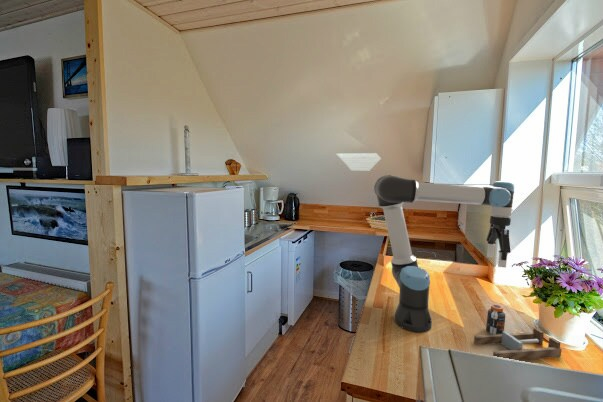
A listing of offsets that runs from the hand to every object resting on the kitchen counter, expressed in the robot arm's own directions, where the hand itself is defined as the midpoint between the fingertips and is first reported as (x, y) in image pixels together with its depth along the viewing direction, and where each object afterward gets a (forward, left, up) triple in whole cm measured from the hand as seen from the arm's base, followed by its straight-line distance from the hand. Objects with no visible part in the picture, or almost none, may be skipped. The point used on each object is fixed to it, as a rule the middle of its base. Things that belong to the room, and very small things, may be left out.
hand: (495, 262), depth 127 cm
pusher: (-9, -25, -24) cm, 36 cm away
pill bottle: (-11, -14, -25) cm, 31 cm away
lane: (-12, -25, -25) cm, 37 cm away
